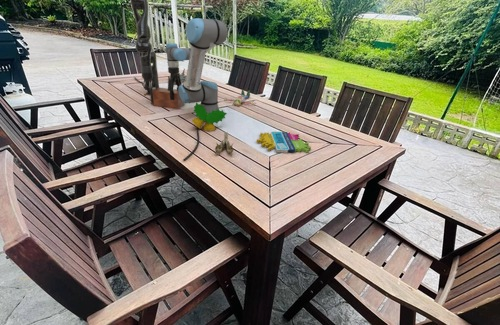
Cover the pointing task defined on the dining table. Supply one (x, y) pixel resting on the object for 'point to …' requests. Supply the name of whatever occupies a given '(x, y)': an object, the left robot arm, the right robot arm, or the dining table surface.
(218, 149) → the jawbone
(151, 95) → the drawer
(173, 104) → the cabinet
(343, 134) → the dining table surface
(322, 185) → the dining table surface
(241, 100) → the toy
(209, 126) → the ornament
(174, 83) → the airplane
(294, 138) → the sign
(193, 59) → the right robot arm
